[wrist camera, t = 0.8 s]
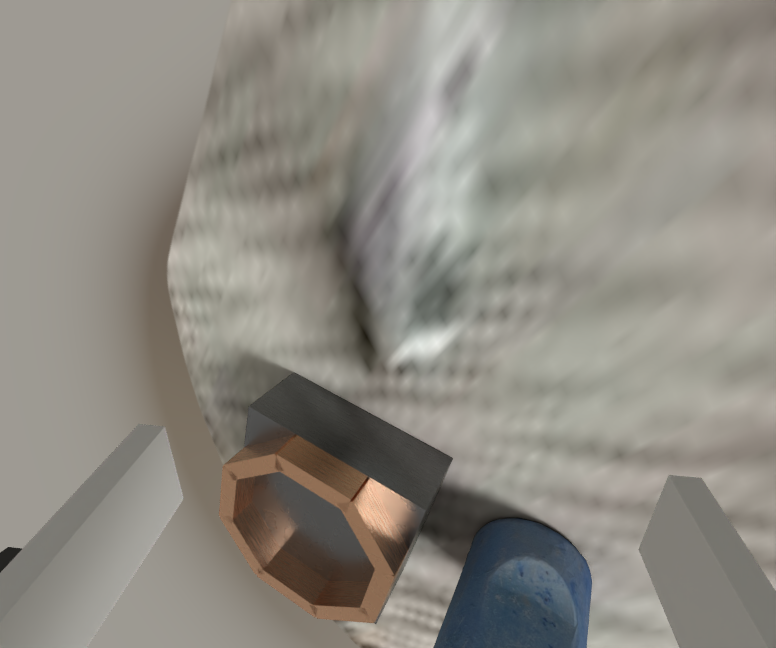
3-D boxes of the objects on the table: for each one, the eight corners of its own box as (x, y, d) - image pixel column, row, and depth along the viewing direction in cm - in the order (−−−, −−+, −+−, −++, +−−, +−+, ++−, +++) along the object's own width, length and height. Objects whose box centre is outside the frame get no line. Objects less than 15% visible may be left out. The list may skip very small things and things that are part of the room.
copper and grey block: (293, 372, 42) (226, 423, 35) (452, 458, 37) (411, 537, 30) (274, 487, 50) (216, 547, 43) (403, 569, 45) (362, 651, 38)
